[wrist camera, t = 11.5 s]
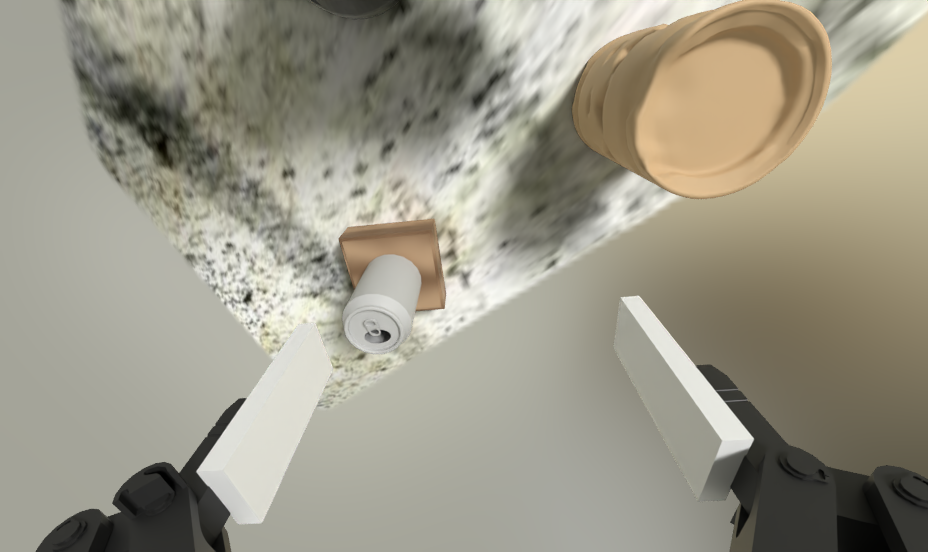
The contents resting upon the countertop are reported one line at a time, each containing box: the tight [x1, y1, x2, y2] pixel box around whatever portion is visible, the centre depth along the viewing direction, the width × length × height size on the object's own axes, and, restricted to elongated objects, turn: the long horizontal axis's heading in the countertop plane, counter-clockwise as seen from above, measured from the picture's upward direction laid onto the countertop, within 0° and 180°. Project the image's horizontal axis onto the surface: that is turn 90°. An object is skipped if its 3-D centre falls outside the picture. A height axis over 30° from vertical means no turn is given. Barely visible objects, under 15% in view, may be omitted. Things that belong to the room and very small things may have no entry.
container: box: [572, 0, 832, 199], centre depth 32 cm, size 13×13×18 cm
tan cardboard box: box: [339, 219, 446, 311], centre depth 48 cm, size 12×12×4 cm
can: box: [342, 254, 422, 354], centre depth 41 cm, size 8×8×12 cm
